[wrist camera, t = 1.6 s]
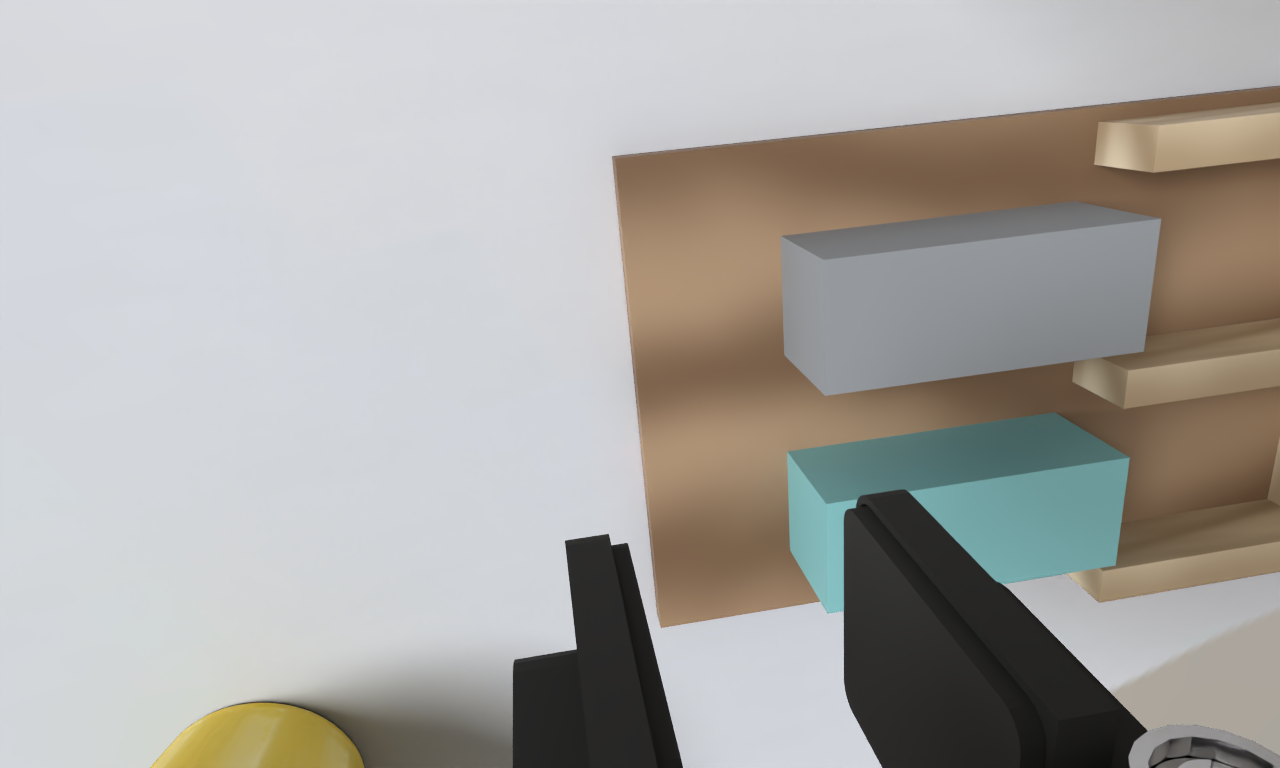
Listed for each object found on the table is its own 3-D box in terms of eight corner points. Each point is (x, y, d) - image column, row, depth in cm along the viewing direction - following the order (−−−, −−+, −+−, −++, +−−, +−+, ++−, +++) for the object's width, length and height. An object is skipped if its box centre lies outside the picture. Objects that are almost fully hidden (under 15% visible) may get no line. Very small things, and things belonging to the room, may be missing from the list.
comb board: (612, 156, 23) (626, 166, 20) (1384, 74, 25) (1501, 72, 22) (657, 613, 28) (673, 675, 25) (1292, 509, 31) (1375, 555, 28)
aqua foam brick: (786, 451, 26) (826, 504, 23) (1054, 412, 27) (1130, 457, 24) (789, 550, 27) (827, 613, 24) (1045, 509, 28) (1115, 565, 25)
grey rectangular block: (780, 236, 23) (823, 260, 20) (1075, 201, 24) (1161, 218, 21) (784, 355, 25) (825, 396, 21) (1064, 317, 26) (1143, 351, 22)
